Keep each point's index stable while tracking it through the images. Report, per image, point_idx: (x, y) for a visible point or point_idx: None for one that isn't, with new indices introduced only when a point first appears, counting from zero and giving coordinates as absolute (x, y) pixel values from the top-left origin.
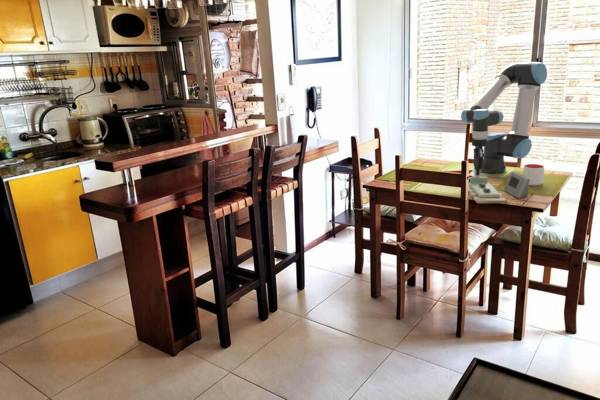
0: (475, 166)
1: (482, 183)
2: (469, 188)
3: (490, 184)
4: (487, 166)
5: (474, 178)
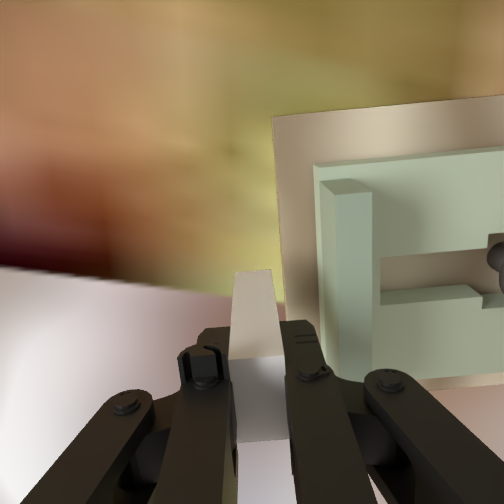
0: (237, 470)
1: (378, 246)
2: None
3: (282, 121)
4: None
5: (369, 371)
